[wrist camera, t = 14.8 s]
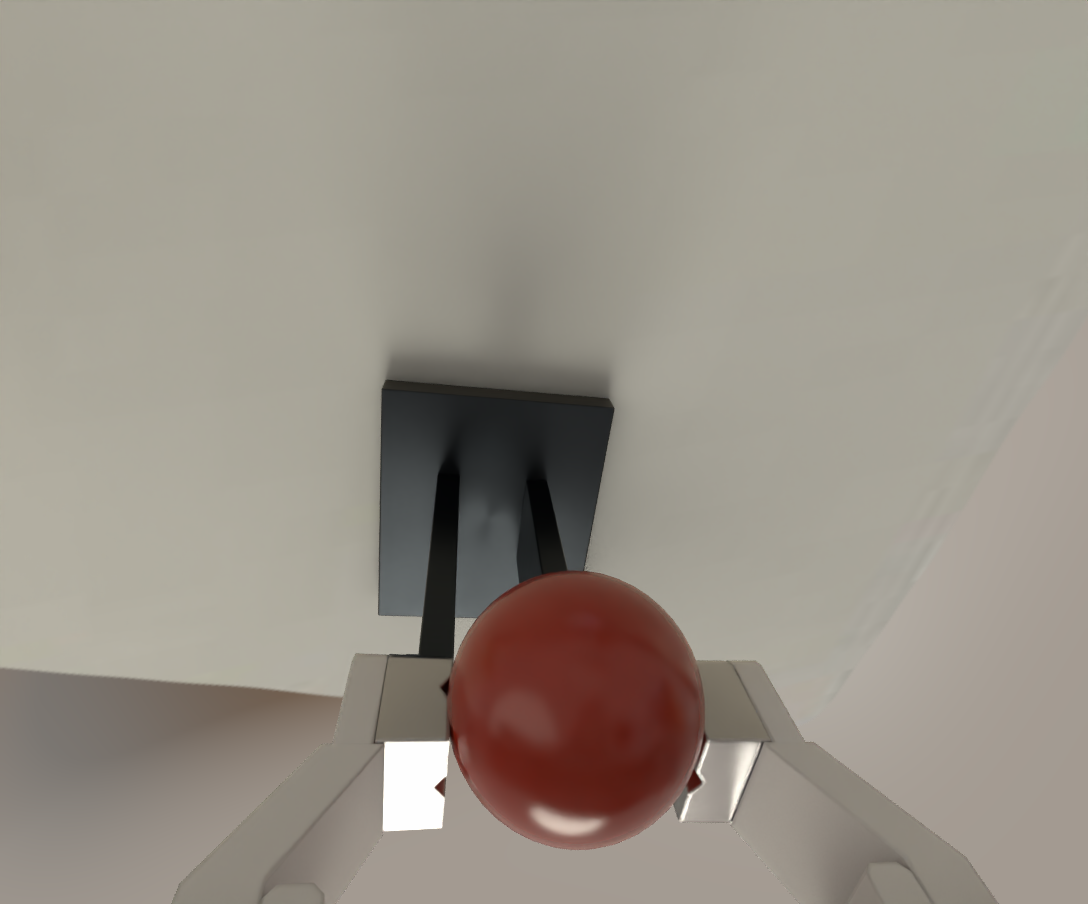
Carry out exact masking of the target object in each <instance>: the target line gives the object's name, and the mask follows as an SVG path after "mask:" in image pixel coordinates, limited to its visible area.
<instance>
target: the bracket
mask: <svg viewBox="0 0 1088 904" xmlns="http://www.w3.org/2000/svg"><path fill="white" fill-rule="evenodd" d="M613 414H614V407H613V405H612V403H611V401H610V400H609V399H606V398H594V397H582V396H570V395H559V394H547V393H535V392H523V391H511V390H499V389H487V388H475V387H463V386H451V385H439V384H427V383H416V382H404V381H392V380H385V383H384V385H383V388H382V403H381V468H380V532H379V597H378V615H385V616H421V617H422V626H421V636H420V645H419V654H406V655H421V656H445V657H453V659H454V631H455V617H457V618H478V616H479V615H480V614H481V613H482V612H483V611H484V610H485V609H486V608H487V607H488V606H489V605H490V604H491V603H492V602H493V601H494V600H496V599H497V598H498V597H499V596H500V595H502V594H503V593H505V592H506V591H508V590H509V589H511V588H512V587H514V586H516V585H517V584H520V583H522V582H524V581H526V580H528V579H530V578H533V577H537V576H540V575H543V574H547V573H552V572H560V571H570V570H578V571H584V567H585V562H586V557H587V551H588V546H589V541H590V536H591V530H592V525H593V520H594V514H595V509H596V504H597V498H598V493H599V488H600V482H601V477H602V472H603V467H604V461H605V456H606V451H607V445H608V440H609V435H610V429H611V424H612V419H613ZM452 667H453V663H452Z"/></svg>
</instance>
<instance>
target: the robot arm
mask: <svg viewBox="0 0 1088 904" xmlns="http://www.w3.org/2000/svg"><path fill="white" fill-rule="evenodd" d="M696 662H697V665H698V668H699V672H700V676H701V680H702V684H703V691H704V698H705V727H704V735H703V742H702V745H701V749H700V753H699V757H698V760H697V762H696V765H695V767H694V770H693V772H692V775H691V777H690V779H689V781H688V783H687V784H686V786H685V788H684V790H683V791H682V793H681V795H680V796H679V797H678V799H677V800H676V801H675V802H674V804H673V805H674V808H675V811H676V814H677V817H678V820H679V822H694V823H696V822H697V823H731V827H732V828H733V829H734V830H735V831H736V832H737V833H738V835H739V836H740V837H741V838H742V839H743V840H744V841H745V842H746V844H747V845H748V846H749V847H750V848H751V849H752V850H753V852H754V853H755V854H756V855H757V856H758V857H759V858H760V860H761V861H762V862H763V863H764V864H765V865H766V866H767V868H768V869H769V870H770V871H771V872H772V873H773V874H774V875H775V877H776V878H777V879H778V880H779V881H780V882H781V883H782V884H783V886H784V887H785V888H786V889H787V890H788V891H789V892H790V894H791V895H792V896H793V897H794V898H795V899H796V901H797V902H798V903H799V904H999V903H998V902H997V901H996V899H995V898H994V896H993V895H992V893H991V892H990V891H989V889H988V888H987V886H986V885H985V883H984V882H983V881H982V879H981V878H980V876H979V875H978V874H977V872H976V871H975V869H974V868H973V866H972V865H971V863H970V862H969V861H968V859H967V858H966V857H965V856H964V855H963V854H961V853H960V852H959V851H957V850H956V849H955V848H953V847H952V846H951V845H949V844H948V843H947V842H945V841H944V840H942V839H941V838H940V837H939V836H938V835H936V834H935V833H933V832H932V831H931V830H930V829H928V828H927V827H925V826H924V825H923V824H922V823H920V822H919V821H918V820H916V819H915V818H914V817H912V816H911V815H910V814H908V813H907V812H906V811H904V810H903V809H902V808H900V807H899V806H898V805H896V804H895V803H894V802H892V801H891V800H890V799H888V798H887V797H886V796H884V795H883V794H882V793H881V792H879V791H878V790H877V789H875V788H874V787H873V786H871V785H870V784H869V783H867V782H866V781H865V780H863V779H862V778H861V777H859V776H858V775H857V774H855V773H854V772H853V771H851V770H850V769H849V768H847V767H846V766H845V765H843V764H842V763H841V762H840V761H838V760H837V759H836V758H834V757H833V756H832V755H830V754H829V753H828V752H826V751H825V750H824V749H822V748H821V747H820V746H818V745H817V744H816V743H814V742H805V741H804V739H803V737H802V736H801V734H800V732H799V730H798V728H797V727H796V725H795V723H794V721H793V720H792V718H791V716H790V714H789V713H788V711H787V709H786V708H785V706H784V704H783V702H782V701H781V699H780V697H779V695H778V694H777V692H776V690H775V688H774V687H773V685H772V683H771V681H770V680H769V678H768V676H767V674H766V673H765V671H764V669H763V668H762V666H761V665H760V664H759V663H758V662H756V661H707V660H696ZM452 663H453V657H445V656H421V655H398V654H389V655H379V654H359V653H356V654H355V656H354V658H353V660H352V663H351V667H350V671H349V675H348V679H347V684H346V688H345V692H344V696H343V701H342V705H341V709H340V713H339V718H338V722H337V726H336V731H335V735H334V739H333V743H332V744H321V745H320V746H319V747H318V748H317V749H316V750H315V751H314V752H313V753H312V754H311V755H310V756H309V757H308V758H307V759H306V760H305V761H304V762H303V763H302V764H301V765H300V766H299V767H298V768H297V769H296V770H295V771H294V772H293V773H292V774H291V775H290V776H289V777H288V778H287V779H286V780H285V781H284V782H283V783H282V784H281V785H279V786H278V787H277V788H276V789H275V790H274V792H272V794H270V795H269V796H268V797H267V798H266V799H265V800H264V801H263V802H262V803H261V804H260V805H259V806H258V807H257V808H256V809H255V810H254V811H253V812H252V813H251V814H250V815H249V816H248V817H247V818H246V819H245V820H244V821H243V822H242V823H241V824H240V825H239V826H238V827H237V828H236V829H235V830H234V831H233V832H232V833H231V834H230V835H229V836H228V837H226V838H225V839H224V840H223V841H222V842H221V843H220V844H219V845H218V846H217V847H216V848H215V849H214V850H213V851H212V852H211V853H210V854H209V855H208V856H207V857H206V858H205V859H204V860H203V861H202V862H201V863H200V864H199V865H198V866H197V867H196V868H195V869H194V870H193V871H192V872H191V873H190V874H189V875H188V876H187V877H186V878H185V879H184V880H183V881H182V882H181V883H180V884H179V886H178V889H177V891H176V894H175V896H174V898H173V901H172V904H336V903H337V902H338V900H339V899H340V897H341V896H342V894H343V893H344V892H345V890H346V889H347V887H348V886H349V884H350V883H351V881H352V880H353V878H354V877H355V875H356V874H357V872H358V871H359V869H360V868H361V866H362V865H363V863H364V862H365V861H366V859H367V858H368V856H369V855H370V853H371V852H372V850H373V849H374V847H375V846H376V844H377V843H378V841H379V840H380V838H381V837H382V836H383V831H397V830H414V829H434V828H442V821H443V811H444V800H445V784H446V776H447V766H448V753H449V738H450V722H449V718H448V705H447V695H448V687H449V679H450V675H451V671H452Z"/></svg>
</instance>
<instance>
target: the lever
mask: <svg viewBox="0 0 1088 904" xmlns="http://www.w3.org/2000/svg"><path fill="white" fill-rule="evenodd" d="M447 705H448V718H449V722H450V740H451V744H452V748H453V752H454V755H455V757H456V760H457V762H458V765H459V768H460V770H461V772H462V774H463V776H464V778H465V779H466V781H467V783H468V785H469V787H470V788H471V790H472V791H473V792H474V794H475V795H476V797H477V798H478V799H479V801H480V802H481V803H482V804H483V805H484V807H485V808H486V809H488V811H489V812H490V813H491V814H493V816H494V817H495V818H497V819H498V820H499V821H500V822H502V823H503V824H504V825H506V826H507V827H509V828H510V829H511V830H513V831H514V832H516V833H518V834H520V835H522V836H524V837H526V838H528V839H530V840H532V841H534V842H538V843H541V844H544V845H548V846H551V847H555V848H561V849H570V850H588V849H596V848H601V847H605V846H610V845H613V844H617V843H620V842H622V841H624V840H626V839H629V838H631V837H633V836H635V835H637V834H639V833H640V832H642V831H643V830H645V829H646V828H648V827H649V826H651V825H652V824H654V823H655V822H656V821H657V820H658V819H659V818H660V817H661V816H662V815H663V814H664V813H666V812H667V811H668V810H669V809H670V807H671V806H672V805H673V804H674V802H675V801H676V800H677V799H678V797H679V796H680V795H681V793H682V791H683V790H684V788H685V786H686V784H687V783H688V781H689V779H690V777H691V775H692V772H693V770H694V767H695V765H696V762H697V760H698V757H699V753H700V749H701V745H702V742H703V735H704V727H705V698H704V691H703V684H702V680H701V676H700V672H699V668H698V665H697V662H696V660H695V657H694V655H693V652H692V650H691V648H690V646H689V644H688V642H687V640H686V638H685V637H684V635H683V633H682V632H681V630H680V629H679V627H678V626H677V625H676V623H675V622H674V620H673V619H672V618H671V617H670V616H669V615H668V614H667V613H666V612H665V610H664V609H663V608H662V607H661V606H660V605H658V604H657V603H656V602H655V601H654V600H653V599H651V598H650V597H649V596H648V595H646V594H645V593H643V592H642V591H640V590H639V589H637V588H636V587H634V586H632V585H630V584H628V583H626V582H624V581H622V580H619V579H617V578H614V577H611V576H607V575H604V574H601V573H595V572H588V571H578V570H570V571H560V572H552V573H547V574H543V575H540V576H537V577H533V578H530V579H528V580H526V581H524V582H522V583H520V584H517V585H516V586H514V587H512V588H511V589H509V590H508V591H506V592H505V593H503V594H502V595H500V596H499V597H498V598H497V599H496V600H494V601H493V602H492V603H491V604H490V605H489V606H488V607H487V608H486V609H485V610H484V611H483V612H482V613H481V614H480V615H479V616H478V618H477V619H476V621H475V622H474V623H473V625H472V626H471V628H470V629H469V630H468V632H467V634H466V636H465V638H464V640H463V641H462V643H461V645H460V647H459V650H458V653H457V655H456V658H455V660H454V663H453V667H452V671H451V675H450V679H449V687H448V695H447Z"/></svg>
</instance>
